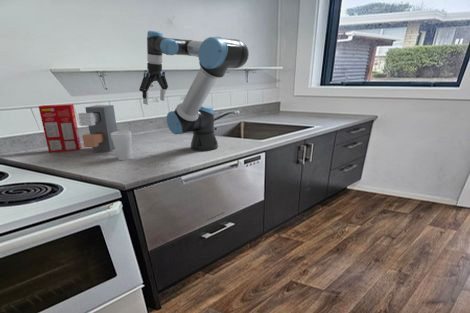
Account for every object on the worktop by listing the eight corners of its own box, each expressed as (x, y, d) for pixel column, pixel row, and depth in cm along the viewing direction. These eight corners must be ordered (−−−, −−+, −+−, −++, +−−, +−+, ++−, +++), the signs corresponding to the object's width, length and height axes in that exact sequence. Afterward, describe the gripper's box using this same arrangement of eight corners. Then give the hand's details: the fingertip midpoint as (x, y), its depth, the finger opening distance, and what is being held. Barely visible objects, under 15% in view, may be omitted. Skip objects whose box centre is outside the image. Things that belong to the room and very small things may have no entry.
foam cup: (118, 155, 138) (114, 131, 134) (136, 155, 138) (133, 130, 134) (111, 161, 128) (107, 135, 125) (131, 160, 129) (127, 134, 125)
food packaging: (81, 147, 155) (73, 104, 147) (79, 150, 150) (70, 105, 143) (52, 150, 151) (42, 105, 144) (49, 152, 146) (38, 106, 139)
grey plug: (91, 125, 132) (89, 113, 131) (80, 125, 133) (78, 113, 131) (105, 121, 145) (104, 110, 143) (95, 121, 145) (93, 110, 143)
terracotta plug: (95, 147, 136) (93, 135, 134) (84, 147, 136) (82, 135, 134) (109, 141, 148) (107, 130, 146) (98, 141, 148) (96, 130, 147)
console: (110, 151, 146) (103, 107, 139) (93, 151, 147) (85, 107, 140) (119, 146, 155) (113, 105, 148) (103, 146, 156) (96, 105, 149)
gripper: (164, 61, 153) (163, 97, 162) (131, 62, 133) (132, 104, 142) (175, 63, 151) (173, 100, 160) (142, 65, 130) (143, 107, 139)
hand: (154, 102), depth 151 cm, fingers open, 13 cm apart
